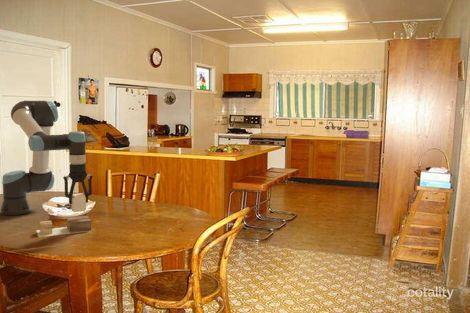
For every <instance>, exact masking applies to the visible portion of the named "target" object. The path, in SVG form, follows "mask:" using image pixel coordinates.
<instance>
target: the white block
mask: <svg viewBox="0 0 470 313" xmlns="http://www.w3.org/2000/svg"><path fill="white" fill-rule="evenodd" d="M72 197H73V198H74V211H73V212H74V213H79V212H80V213H81V212H85V211H86V210H85V194H84V192H82V193H73V195H72Z"/></svg>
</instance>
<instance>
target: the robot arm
mask: <svg viewBox="0 0 470 313" xmlns="http://www.w3.org/2000/svg"><path fill="white" fill-rule="evenodd" d="M58 111H59V110H58V108H57V105H56V104H55V102H54V101H51V100H49V101H48V100H21V101H18V102H17V103H16V104H14V106H13V107H12V108H11V111H10V118H11V119H12V121H13V122H14V123H15V124H16V125H18V126H19V127H20V128H21V130H22V131H23V132H24V134H25V136H27V138H28V142H27V143H28V148H29V150H30V151H32V162H31V163H32V165H31V167H29V170H28V172H26V171H25V170H12V171H9V172H6V173H4V174H3V175H2V181H1V184H2V198H3V200H2V203H1V206H0V215H2V216H20V215H25V214H28V213H30V212H31V207H30V204H29V202H28V199H27V194H29V193H36V192H37V193H39V192H45V191H50V190H51V189H52V188H53V187H54V185H55V174H54V171H52V168H50V167H49V161H50V151H63V150H64V151H66V150H68V160H69V174H68V175H64V176H63V178H62V179H63V181H64V196H65V197H66V198H68V203H69V205H71V208H70V209H71V212H74V198H73V197H72V195H73V194H74V190H75V187H76V183H80V184H81V187H82V190H83V194H84V195H85V211H86V210H87V203H89V196H92V195H93V191H92V190H93V189H92V188H93V186H92V183H93V182H92V179H93V175H92V174H88V173H87V164H86V162H87V161H86V159H87V158H86V133H85V132H84V131H69V132H68V133H63V134H51V128H52V127H54V125H55V124H54V123H55V122H56V123H57V121H58V119H59V113H58ZM69 178H70V180H71V185H70V189H69ZM85 179H87V186H88V187H86V184H85ZM87 188H88V190H87Z"/></svg>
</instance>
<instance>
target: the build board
mask: <svg viewBox="0 0 470 313" xmlns="http://www.w3.org/2000/svg"><path fill="white" fill-rule="evenodd" d="M52 232H53V233H52V234H43V235H41V233H40V229H36V235H37V238H45V237H53V236H61V235H70V234H72V233H70V232H69V230H68V228H67V226H64V227H62V226H61V227H55V228H53V227H52ZM87 232H88V233H89V231H82V232H74V233H73V234H78V233H87Z"/></svg>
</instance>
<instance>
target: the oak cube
mask: <svg viewBox="0 0 470 313" xmlns="http://www.w3.org/2000/svg"><path fill="white" fill-rule="evenodd" d="M52 228H53V221H52V220H44V221H39V230H40V233H41V235H43V234H52V233H53V232H52Z"/></svg>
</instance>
